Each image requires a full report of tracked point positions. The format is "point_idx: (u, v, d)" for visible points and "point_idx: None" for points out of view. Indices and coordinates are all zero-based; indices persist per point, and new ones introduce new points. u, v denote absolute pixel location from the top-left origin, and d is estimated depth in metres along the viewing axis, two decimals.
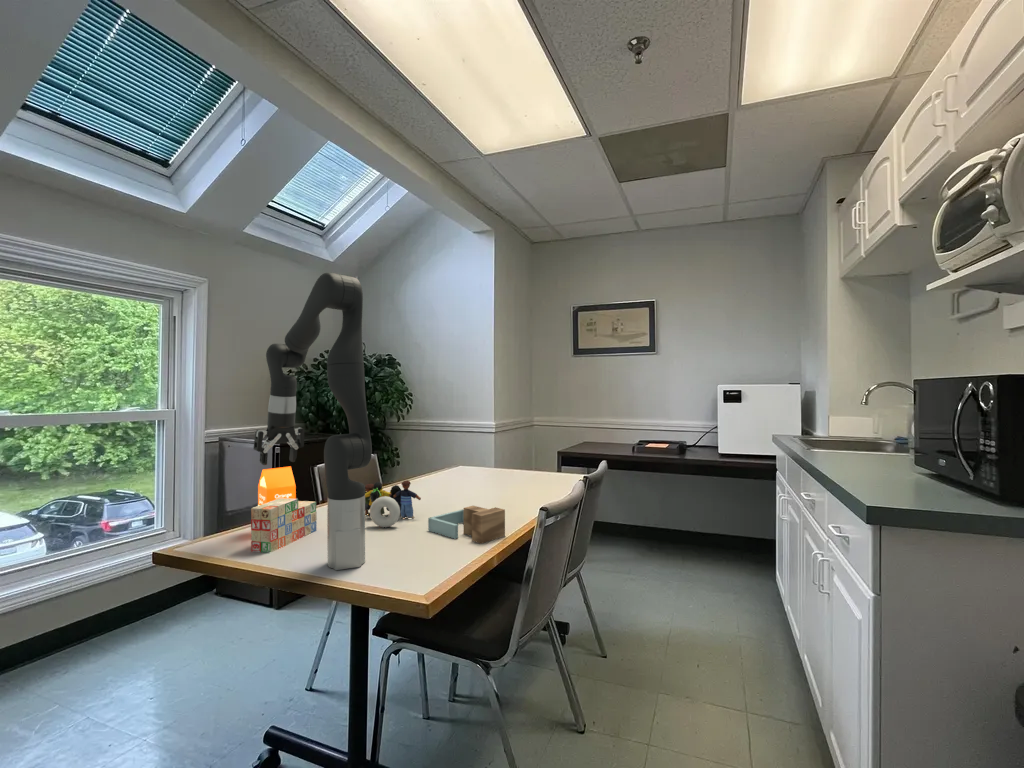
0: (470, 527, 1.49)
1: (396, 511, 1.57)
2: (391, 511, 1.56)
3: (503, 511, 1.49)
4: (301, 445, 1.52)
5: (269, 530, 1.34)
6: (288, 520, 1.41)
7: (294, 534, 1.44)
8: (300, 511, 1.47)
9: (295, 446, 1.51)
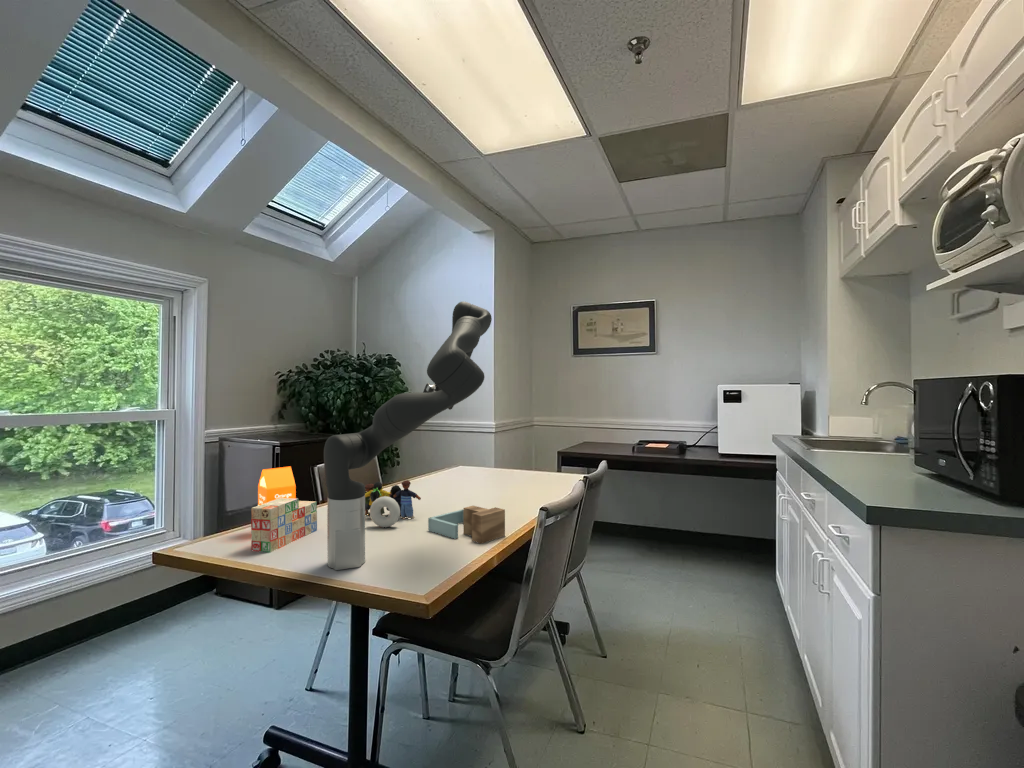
0: (470, 527, 1.49)
1: (396, 511, 1.57)
2: (391, 511, 1.56)
3: (503, 511, 1.49)
4: None
5: (269, 530, 1.35)
6: (288, 519, 1.42)
7: (294, 533, 1.45)
8: (300, 511, 1.48)
9: None
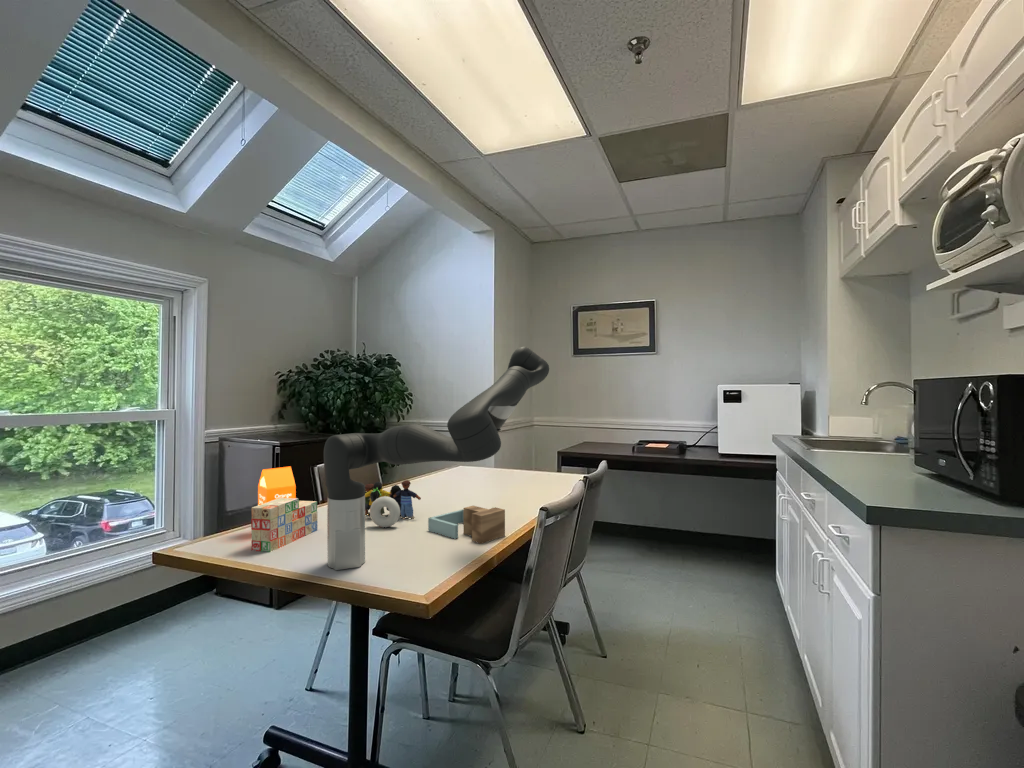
0: (470, 527, 1.49)
1: (396, 511, 1.57)
2: (391, 511, 1.56)
3: (503, 511, 1.49)
4: None
5: (269, 529, 1.35)
6: (288, 519, 1.42)
7: (294, 533, 1.45)
8: (301, 511, 1.48)
9: None
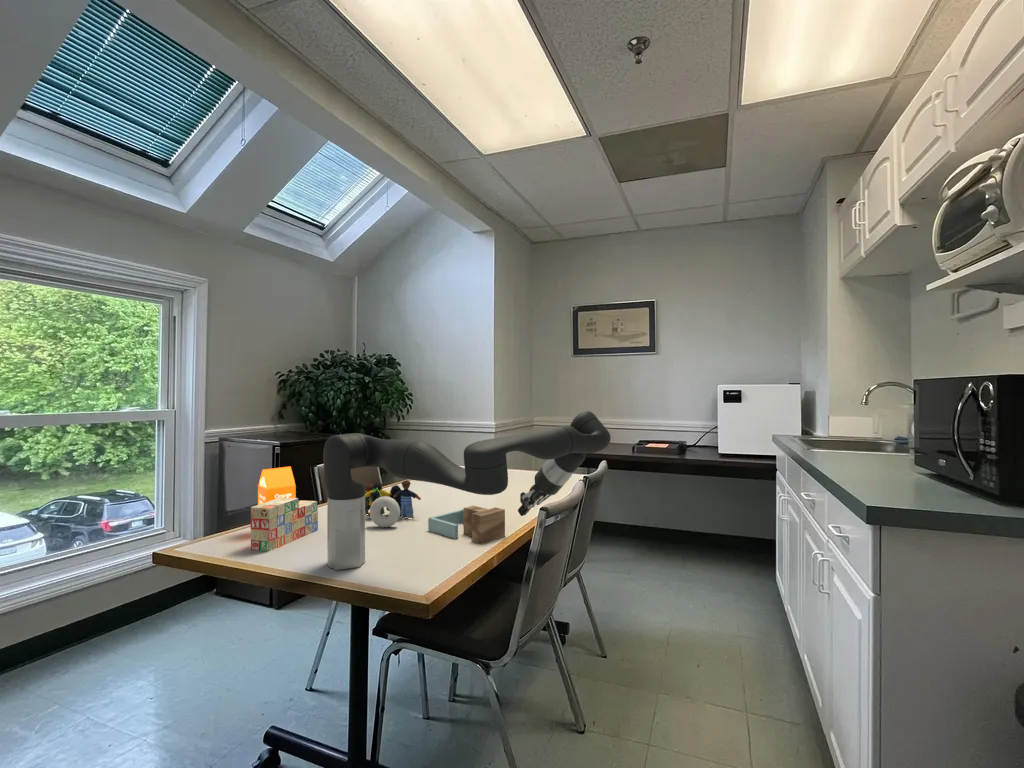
0: (470, 527, 1.49)
1: (396, 511, 1.57)
2: (391, 511, 1.56)
3: (503, 511, 1.49)
4: (538, 503, 1.38)
5: (268, 529, 1.35)
6: (287, 519, 1.42)
7: (294, 533, 1.45)
8: (300, 510, 1.48)
9: (533, 505, 1.36)
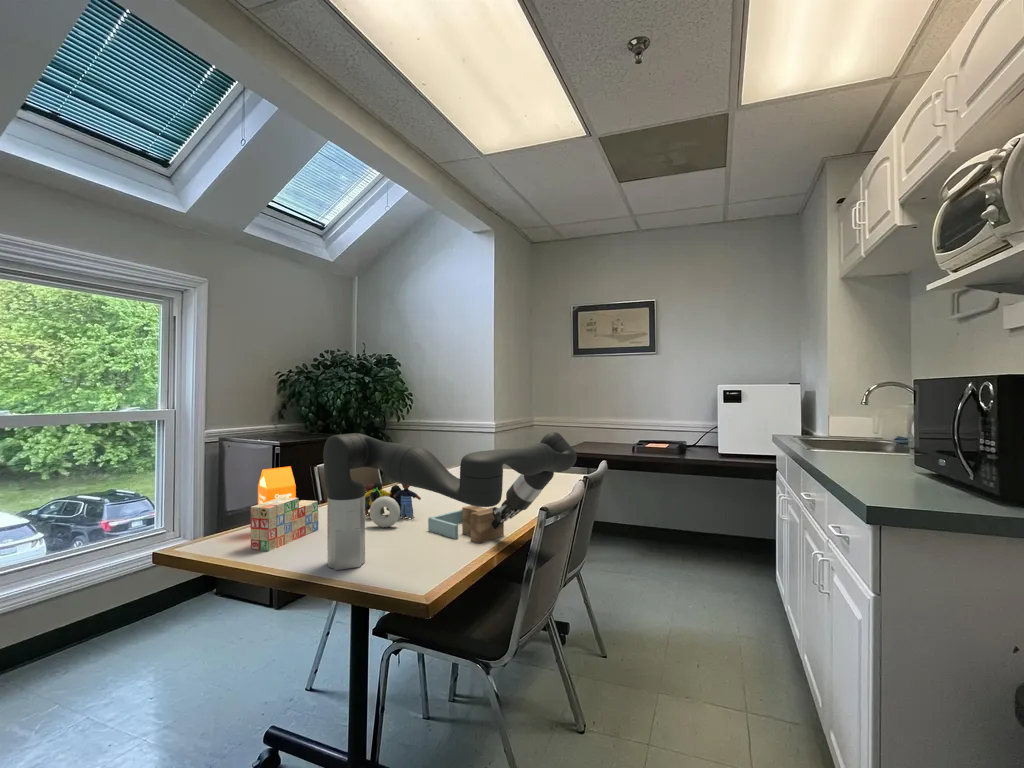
0: (469, 527, 1.49)
1: (396, 511, 1.57)
2: (391, 511, 1.56)
3: None
4: (511, 517, 1.44)
5: (267, 529, 1.35)
6: (287, 519, 1.42)
7: (294, 533, 1.45)
8: (301, 510, 1.48)
9: (506, 519, 1.43)
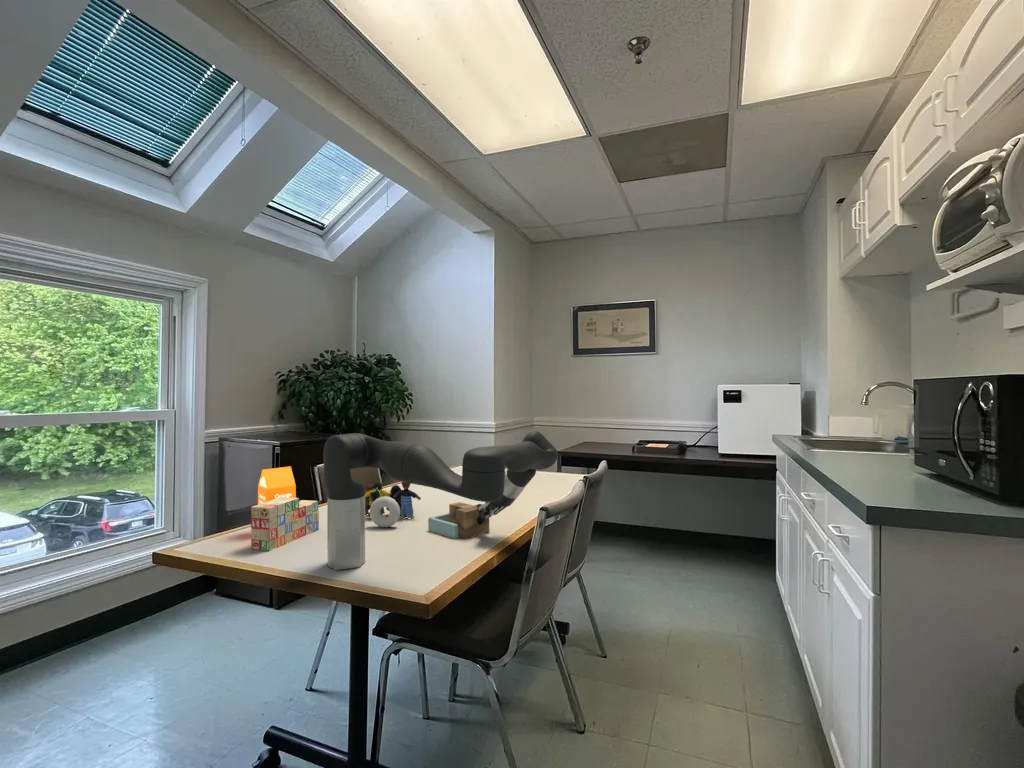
0: (455, 523, 1.54)
1: (396, 511, 1.57)
2: (391, 511, 1.56)
3: None
4: (495, 513, 1.48)
5: (268, 529, 1.36)
6: (288, 519, 1.42)
7: (295, 533, 1.45)
8: (301, 510, 1.48)
9: (490, 515, 1.47)
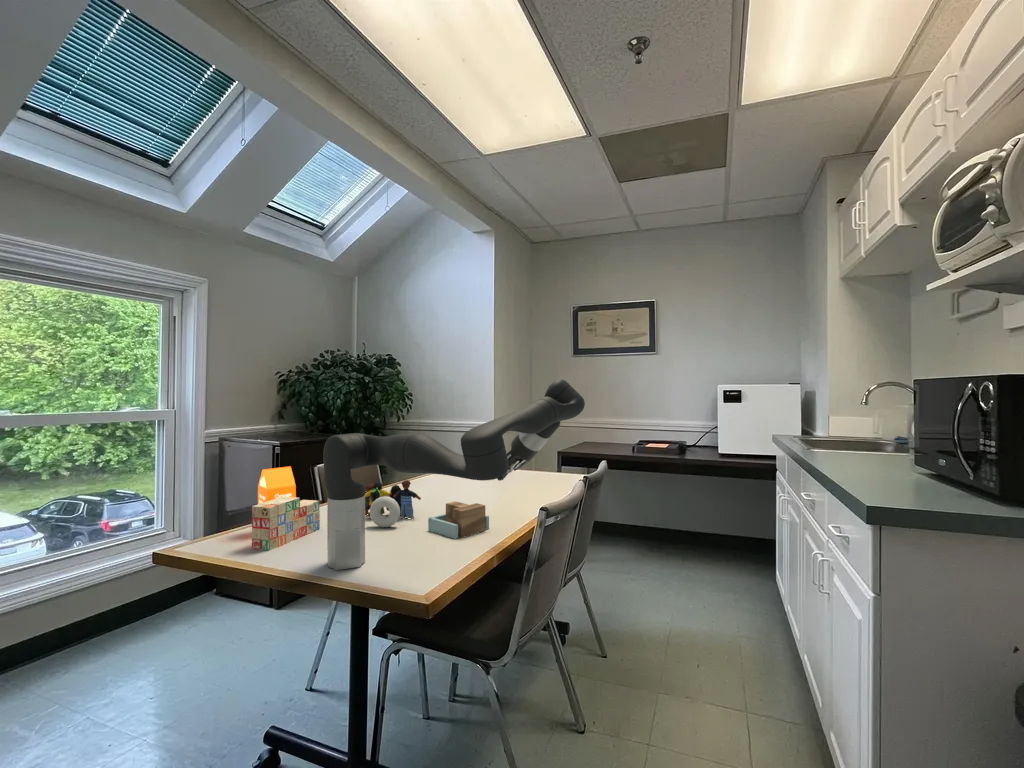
0: (452, 522, 1.55)
1: (396, 511, 1.57)
2: (391, 511, 1.56)
3: (483, 507, 1.54)
4: (515, 469, 1.43)
5: (268, 528, 1.36)
6: (288, 518, 1.43)
7: (295, 532, 1.46)
8: (302, 510, 1.49)
9: (510, 470, 1.41)
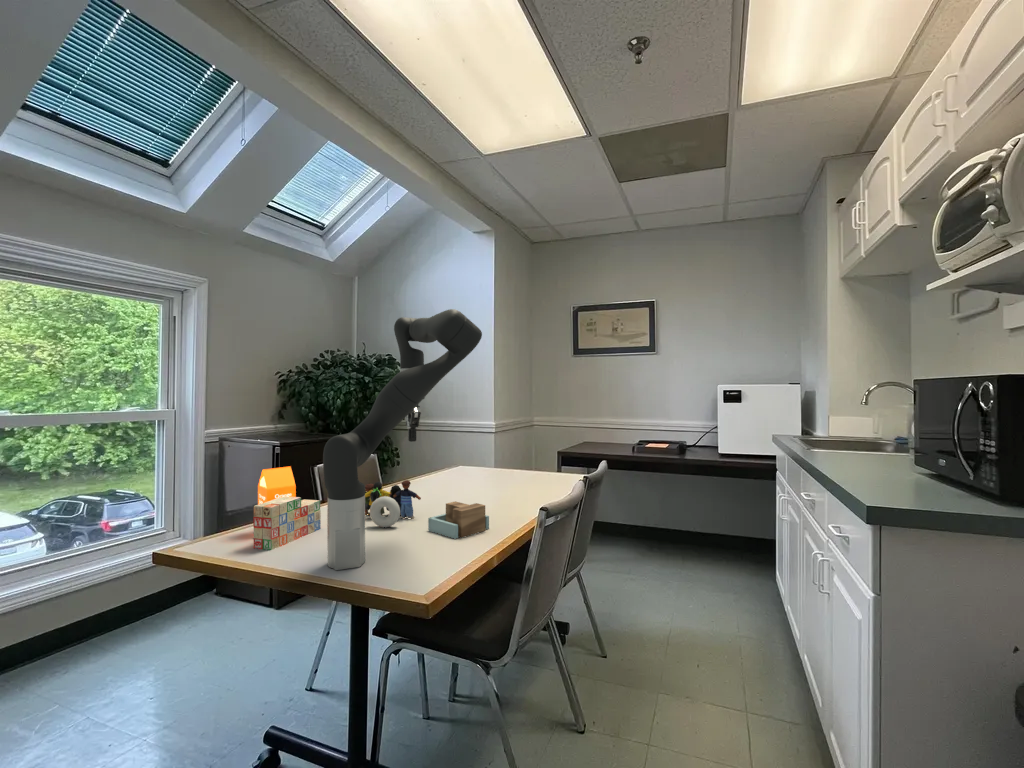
0: (452, 522, 1.55)
1: (396, 511, 1.57)
2: (391, 511, 1.56)
3: (483, 507, 1.54)
4: (414, 423, 1.51)
5: (270, 528, 1.36)
6: (290, 518, 1.43)
7: (297, 532, 1.46)
8: (303, 509, 1.49)
9: None
